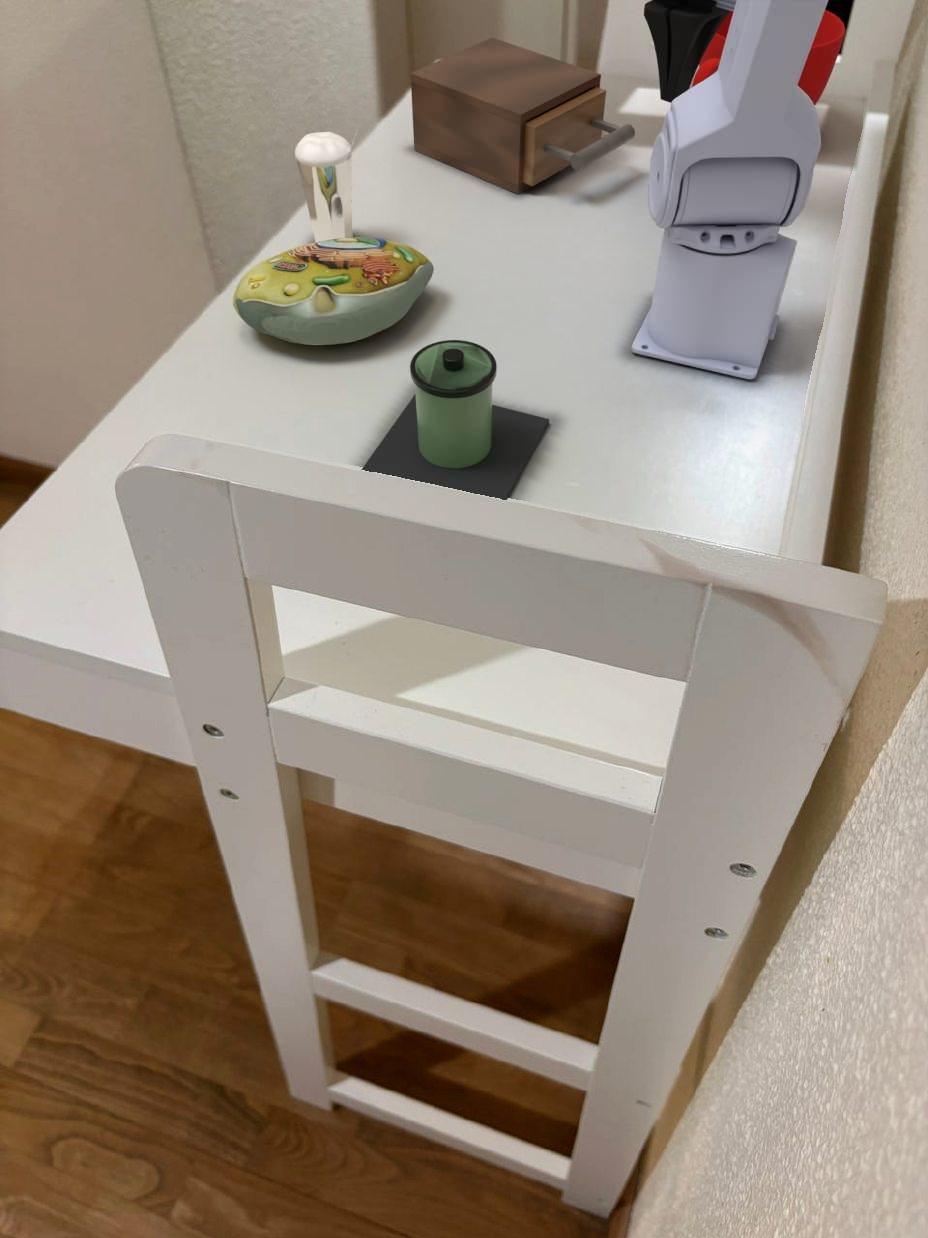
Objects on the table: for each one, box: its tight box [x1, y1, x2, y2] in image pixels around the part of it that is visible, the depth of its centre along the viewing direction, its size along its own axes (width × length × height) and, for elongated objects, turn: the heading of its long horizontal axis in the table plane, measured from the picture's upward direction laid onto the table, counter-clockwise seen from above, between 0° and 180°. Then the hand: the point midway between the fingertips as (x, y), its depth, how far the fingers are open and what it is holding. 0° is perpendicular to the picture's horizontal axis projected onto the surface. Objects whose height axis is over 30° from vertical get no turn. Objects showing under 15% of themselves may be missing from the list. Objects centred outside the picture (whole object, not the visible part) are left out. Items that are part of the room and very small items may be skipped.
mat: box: [361, 393, 550, 501], centre depth 64 cm, size 10×10×1 cm
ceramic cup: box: [691, 9, 846, 107], centre depth 89 cm, size 13×17×10 cm
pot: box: [409, 339, 498, 469], centre depth 61 cm, size 6×6×7 cm
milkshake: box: [294, 127, 359, 243], centre depth 77 cm, size 4×5×10 cm
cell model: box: [232, 236, 435, 346], centre depth 71 cm, size 11×8×15 cm
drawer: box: [523, 87, 636, 187], centre depth 87 cm, size 17×10×5 cm, turn 48°
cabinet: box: [410, 37, 602, 195], centre depth 89 cm, size 14×12×7 cm
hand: (673, 97), depth 77 cm, fingers closed
